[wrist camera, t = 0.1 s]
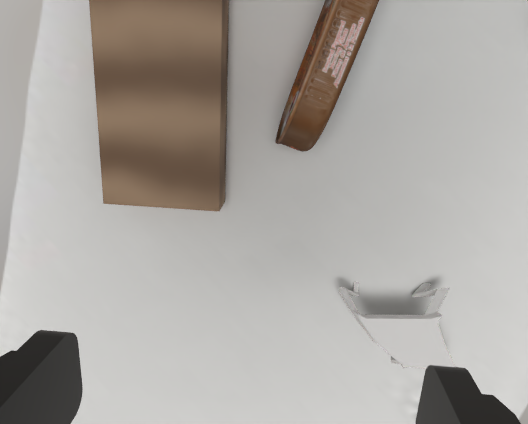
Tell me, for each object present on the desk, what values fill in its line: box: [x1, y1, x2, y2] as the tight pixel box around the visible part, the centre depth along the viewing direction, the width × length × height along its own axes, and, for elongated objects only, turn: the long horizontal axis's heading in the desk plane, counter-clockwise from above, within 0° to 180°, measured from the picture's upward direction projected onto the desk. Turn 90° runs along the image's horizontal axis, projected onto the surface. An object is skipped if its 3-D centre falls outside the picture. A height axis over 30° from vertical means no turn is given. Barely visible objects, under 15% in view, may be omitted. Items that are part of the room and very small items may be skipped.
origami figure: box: [339, 282, 456, 369], centre depth 38 cm, size 12×8×5 cm
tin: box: [276, 0, 379, 151], centre depth 30 cm, size 15×3×8 cm, turn 159°
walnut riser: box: [89, 0, 229, 211], centre depth 34 cm, size 22×10×3 cm, turn 177°
